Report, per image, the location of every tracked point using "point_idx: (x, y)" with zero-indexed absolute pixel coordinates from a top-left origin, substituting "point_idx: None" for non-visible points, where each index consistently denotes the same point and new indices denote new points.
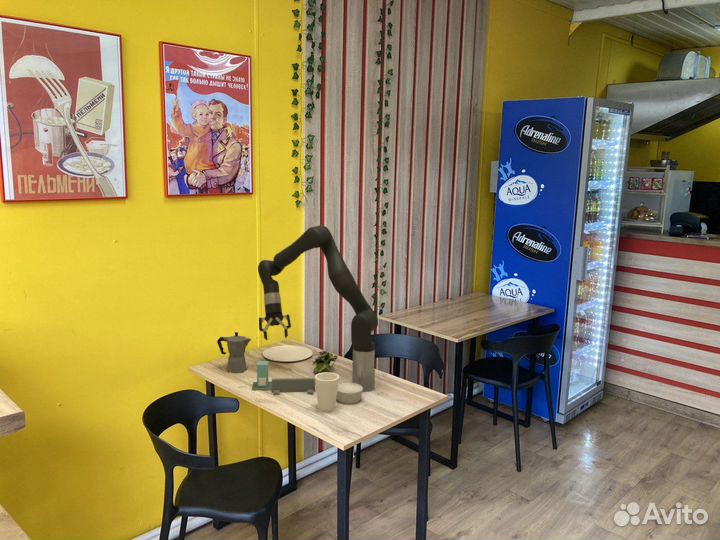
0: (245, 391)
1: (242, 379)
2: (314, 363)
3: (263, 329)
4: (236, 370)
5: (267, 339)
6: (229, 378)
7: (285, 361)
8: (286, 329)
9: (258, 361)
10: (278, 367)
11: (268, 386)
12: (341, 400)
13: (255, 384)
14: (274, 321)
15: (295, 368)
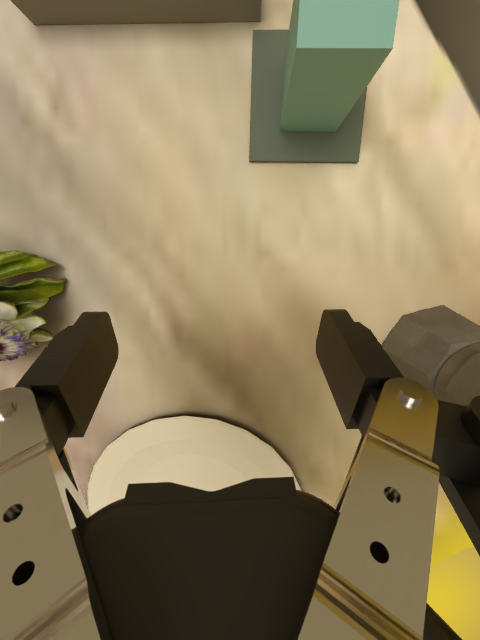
0: (406, 22)
1: (410, 216)
2: (32, 300)
3: (434, 423)
4: (442, 311)
5: (319, 339)
6: (475, 235)
7: (200, 417)
8: (20, 397)
9: (385, 46)
10: (232, 366)
11: (279, 81)
12: None
13: (348, 117)
14: (207, 608)
15: (154, 348)
